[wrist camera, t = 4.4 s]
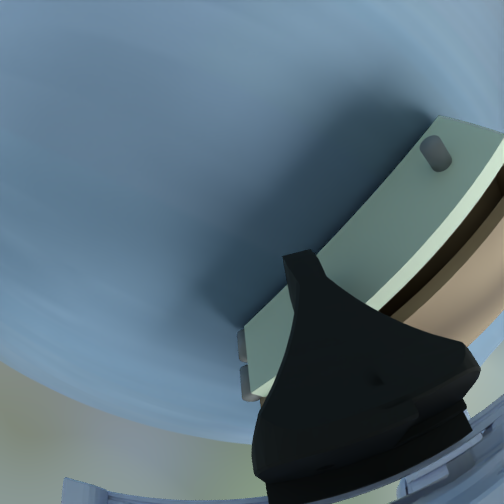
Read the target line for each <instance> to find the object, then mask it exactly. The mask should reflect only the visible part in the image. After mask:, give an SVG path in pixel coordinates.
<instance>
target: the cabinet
mask: <svg viewBox="0 0 504 504" xmlns="http://www.w3.org/2000/svg"><path fill="white" fill-rule="evenodd" d="M503 310H504V163H503V165H502V167H501V168H500V170H499V171H498V173H497V174H496V176H495V177H494V179H493V180H492V182H491V183H490V185H489V186H488V188H487V189H486V191H485V192H484V193H483V195H482V196H481V198H480V199H479V200H478V202H477V203H476V204H475V206H474V207H473V208H472V210H471V211H470V212H469V214H468V215H467V216H466V217H465V219H464V220H463V221H462V222H461V224H460V225H459V226H458V227H457V229H456V230H455V231H454V232H453V233H452V235H451V236H450V237H449V238H448V239H447V241H446V242H445V243H444V244H443V245H442V246H441V247H440V249H439V250H438V251H437V252H436V253H435V254H434V255H433V256H432V258H431V259H430V260H429V261H428V262H427V263H426V264H425V265H424V266H423V267H422V268H421V269H420V270H419V271H418V272H417V274H416V275H415V276H414V277H413V278H412V279H411V280H410V281H409V282H408V283H407V284H406V285H405V286H404V287H403V288H402V289H401V290H400V291H399V292H398V293H397V294H395V295H394V296H393V297H392V298H391V299H390V300H389V301H388V302H387V303H386V304H385V305H384V306H383V307H382V308H381V309H379V310H378V311H379V312H381V313H383V314H385V315H387V316H389V317H391V318H393V319H396V320H398V321H400V322H402V323H404V324H407V325H409V326H412V327H414V328H417V329H420V330H423V331H425V332H428V333H431V334H434V335H438V336H442V337H445V338H449V339H453V340H456V341H460V342H463V343H464V344H465V345H466V347H468V346H469V345H470V344H471V343H472V342H473V341H474V340H475V339H476V338H477V337H478V336H479V335H480V334H481V333H482V332H483V331H484V330H485V329H486V328H487V327H488V326H489V325H490V324H491V323H492V322H493V321H494V320H495V319H496V318H497V317H498V316H499V314H500V313H501V312H502V311H503ZM266 397H267V396H266ZM266 397H262V398H261V399H260V404H261V407H262V405H263V403H264V401H265V399H266Z"/></svg>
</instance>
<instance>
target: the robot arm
mask: <svg viewBox="0 0 504 504" xmlns="http://www.w3.org/2000/svg"><path fill="white" fill-rule="evenodd" d="M282 257H283V262H284V267H285V273H286V279H287V284H288V290H289V295H290V300H291V303H292V307H293V310H294V317H293V322H292V327H291V332H290V336H289V339H288V343H287V347H286V350H285V353H284V357H283V359H282V362H281V365H280V367H279V370H278V373H277V375H276V378H275V380H274V383H273V385H272V387H271V389H270V391H269V393H268V395H267V397H266V399H265V401H264V403H263V405H262V407H261V409H260V411H259V413H258V418H257V422H256V426H255V431H254V436H253V441H252V463H253V470H254V474H255V476H257V477H258V478H259V479H261V480H262V481H264V482H265V483H266V490H267V496H264V497H255V498H245V499H234V500H209V501H208V500H207V501H205V500H203V501H202V500H198V501H197V500H195V501H194V500H171V499H158V498H149V497H140V496H133V495H127V494H121V493H115V492H110V491H107V490H106V489H103V488H100V487H98V486H95V485H92V484H88V483H84V482H81V481H77V480H74V479H70V478H67V477H65V478H64V482H63V490H62V501H61V504H332V503H335V502H339V501H342V500H346V499H349V498H352V497H355V496H358V495H361V494H364V493H367V492H370V491H372V490H375V489H378V488H380V487H383V486H385V485H388V484H390V483H392V482H395V481H397V480H400V479H401V480H400V484H399V485H398V487H397V500H394V501H393V502H390V503H387V504H504V394H503V395H502V396H501V397H499V398H498V399H497V400H496V401H494V402H493V403H492V404H490V405H489V406H488V407H486V408H485V409H484V410H482V411H481V412H480V413H478V414H477V415H475V416H474V417H472V418H470V415H469V413H468V412H467V410H466V408H467V406H466V404H465V402H464V400H463V397H464V396H465V395H466V393H467V392H468V391H469V390H470V388H471V387H472V386H473V385H474V383H475V382H476V380H477V379H478V377H479V374H480V371H481V368H480V366H479V365H478V363H477V361H476V360H475V358H474V356H473V355H472V353H471V352H470V351H469V349H468V348H467V347H466V345H465V344H464V343H463V342H460V341H456V340H453V339H449V338H445V337H442V336H438V335H434V334H431V333H428V332H425V331H423V330H420V329H417V328H414V327H412V326H409V325H407V324H404V323H402V322H400V321H398V320H396V319H393V318H391V317H389V316H387V315H385V314H383V313H381V312H379V311H377V310H375V309H373V308H372V307H370V306H368V305H367V304H365V303H363V302H362V301H360V300H358V299H357V298H355V297H354V296H352V295H351V294H350V293H348V292H347V291H345V290H344V289H342V288H341V287H340V286H338V285H337V284H336V283H335V282H333V281H332V280H331V279H330V278H328V277H327V276H326V274H325V272H324V269H323V267H322V265H321V263H320V261H319V259H318V257H317V256H316V255H315V254H314V253H313V252H312V250H311V249H309V250H305V251H301V252H297V253H293V254H289V255H285V256H282Z"/></svg>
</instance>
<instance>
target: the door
mask: <svg viewBox="0 0 504 504" xmlns="http://www.w3.org/2000/svg"><path fill="white" fill-rule="evenodd" d="M503 163H504V134H503V133H500V132H497V131H494V130H491V129H488V128H485V127H482V126H478V125H475V124H471V123H468V122H464V121H460V120H456V119H452V118H448V117H444V116H438V117H437V118H436V120H435V121H434V122H433V123H432V125H431V126H430V127H429V128H428V130H427V131H426V132H425V133H424V134H423V136H422V137H421V138H420V139H419V141H418V142H417V143H416V144H415V145H414V147H413V148H412V149H411V150H410V151H409V153H408V154H407V155H406V156H405V157H404V159H403V160H402V161H401V162H400V163H399V164H398V166H397V167H396V168H395V169H394V170H393V171H392V173H391V174H390V175H389V176H388V177H387V178H386V180H385V181H384V182H383V183H382V184H381V185H380V186H379V188H378V189H377V190H376V191H375V192H374V193H373V194H372V195H371V197H370V198H369V199H368V200H367V201H366V202H365V203H364V204H363V205H362V207H361V208H360V209H359V210H358V211H357V212H356V213H355V214H354V215H353V216H352V218H351V219H350V220H349V221H348V222H347V223H346V224H345V225H344V226H343V227H342V228H341V229H340V230H339V232H338V233H337V234H336V235H335V236H334V237H333V238H332V239H331V240H330V241H329V242H328V243H327V244H326V245H325V246H324V247H323V248H322V249H321V250H320V252H319V253H318V254H317V255H316V256H317V257H318V259H319V261H320V263H321V265H322V267H323V269H324V272H325V274H326V276H327V277H328V278H330V279H331V280H332V281H333V282H335V283H336V284H337V285H338V286H340V287H341V288H342V289H344V290H345V291H347V292H348V293H350V294H351V295H352V296H354V297H355V298H357V299H358V300H360V301H362V302H363V303H365V304H367V305H368V306H370V307H372V308H373V309H375V310H377V311H378V310H379V309H381V308H382V307H383V306H384V305H385V304H386V303H387V302H388V301H389V300H390V299H391V298H392V297H393V296H394V295H395V294H397V293H398V292H399V291H400V290H401V289H402V288H403V287H404V286H405V285H406V284H407V283H408V282H409V281H410V280H411V279H412V278H413V277H414V276H415V275H416V274H417V272H418V271H419V270H420V269H421V268H422V267H423V266H424V265H425V264H426V263H427V262H428V261H429V260H430V259H431V258H432V256H433V255H434V254H435V253H436V252H437V251H438V250H439V249H440V247H441V246H442V245H443V244H444V243H445V242H446V241H447V239H448V238H449V237H450V236H451V235H452V233H453V232H454V231H455V230H456V229H457V227H458V226H459V225H460V224H461V222H462V221H463V220H464V219H465V217H466V216H467V215H468V214H469V212H470V211H471V210H472V208H473V207H474V206H475V204H476V203H477V202H478V200H479V199H480V198H481V196H482V195H483V193H484V192H485V191H486V189H487V188H488V186H489V185H490V183H491V182H492V180H493V179H494V177H495V176H496V174H497V173H498V171H499V170H500V168H501V167H502V165H503ZM293 317H294V310H293V307H292V303H291V300H290V295H289V290H288V284H287V285H286V286H285V287H284V288H283V289H282V290H281V291H280V292H279V293H278V294H277V295H276V296H275V297H274V298H273V299H272V300H271V301H270V302H269V303H268V304H267V305H266V306H265V307H264V308H263V309H262V310H261V311H260V312H258V313H257V314H256V315H255V316H254V317H253V318H252V319H251V320H250V321H249V322H248V323H247V324H246V325H245V326H244V329H242V330H240V331H239V332H238V334H237V338H238V352H239V359H240V361H242V362H248V365H245V366H243V367H241V368H240V378H241V390H242V399H243V400H245V401H248V402H253V401H257V400H260V399H261V398H262V397H266V396H267V395H268V393H269V391H270V389H271V387H272V385H273V383H274V380H275V378H276V375H277V373H278V370H279V367H280V365H281V362H282V359H283V357H284V353H285V350H286V347H287V343H288V339H289V336H290V332H291V327H292V322H293Z"/></svg>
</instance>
